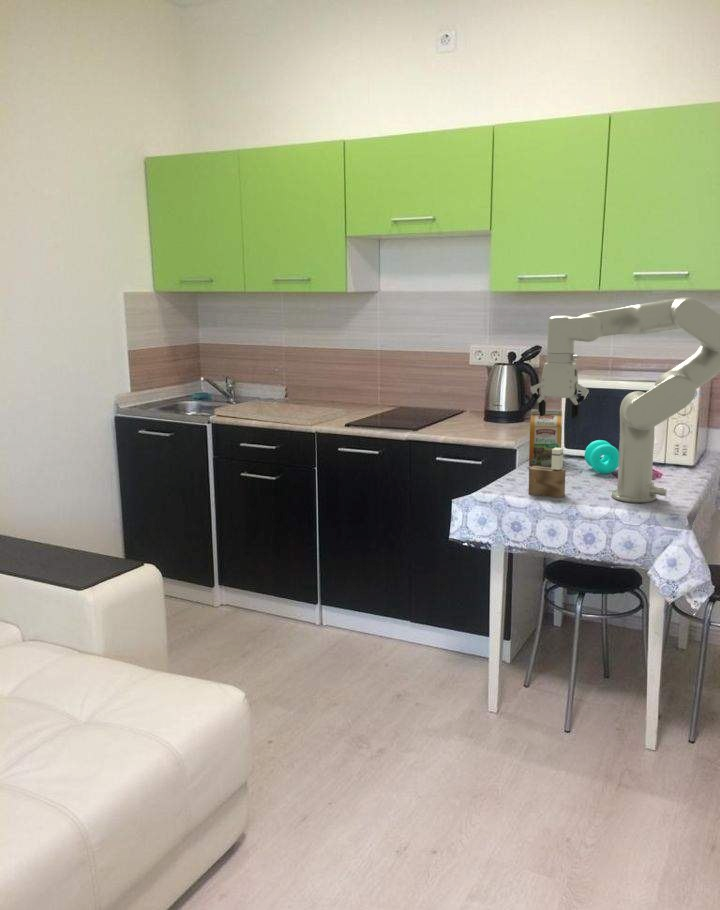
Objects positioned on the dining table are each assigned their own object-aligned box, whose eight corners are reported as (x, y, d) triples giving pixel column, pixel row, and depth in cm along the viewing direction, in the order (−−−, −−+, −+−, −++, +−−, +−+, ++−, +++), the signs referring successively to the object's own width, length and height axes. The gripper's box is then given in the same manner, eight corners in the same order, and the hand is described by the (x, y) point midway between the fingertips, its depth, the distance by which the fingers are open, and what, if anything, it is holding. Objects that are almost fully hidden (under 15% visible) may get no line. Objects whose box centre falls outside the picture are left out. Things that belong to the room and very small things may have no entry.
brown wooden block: (564, 494, 242) (565, 468, 240) (560, 498, 238) (561, 471, 236) (533, 490, 247) (533, 465, 245) (528, 494, 243) (528, 468, 242)
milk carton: (529, 465, 279) (530, 412, 275) (531, 458, 289) (532, 407, 285) (560, 466, 277) (561, 412, 272) (560, 459, 286) (562, 407, 282)
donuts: (590, 475, 264) (591, 445, 262) (583, 467, 274) (584, 439, 272) (620, 474, 264) (622, 445, 262) (612, 467, 273) (613, 438, 271)
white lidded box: (562, 467, 240) (563, 448, 239) (559, 469, 237) (559, 450, 236) (554, 466, 241) (555, 447, 240) (551, 469, 238) (551, 449, 237)
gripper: (593, 358, 231) (591, 416, 234) (535, 356, 240) (534, 412, 243) (585, 361, 224) (583, 420, 228) (527, 359, 233) (525, 416, 237)
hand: (558, 416), depth 236 cm, fingers open, 9 cm apart
